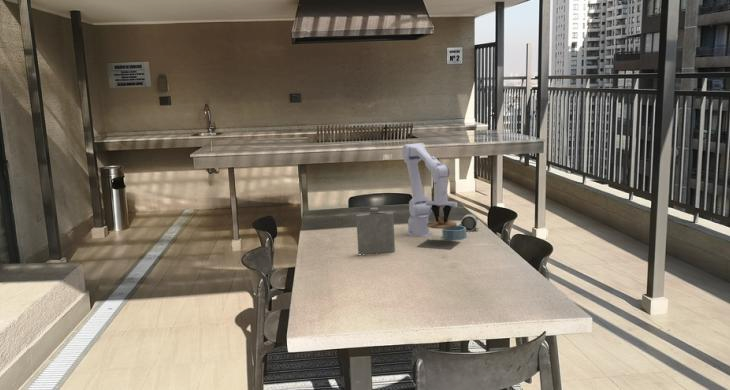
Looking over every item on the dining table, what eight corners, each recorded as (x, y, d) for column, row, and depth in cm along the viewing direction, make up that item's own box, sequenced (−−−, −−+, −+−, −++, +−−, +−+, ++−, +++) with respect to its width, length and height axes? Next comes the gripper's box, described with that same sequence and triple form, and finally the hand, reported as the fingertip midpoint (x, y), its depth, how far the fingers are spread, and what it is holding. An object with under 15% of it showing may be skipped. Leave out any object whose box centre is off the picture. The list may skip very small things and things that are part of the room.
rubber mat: (416, 247, 265) (416, 246, 265) (428, 240, 277) (427, 239, 277) (450, 250, 257) (450, 249, 257) (461, 242, 269) (461, 241, 269)
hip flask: (358, 255, 257) (356, 210, 254) (358, 253, 261) (355, 208, 258) (395, 253, 258) (393, 207, 255) (394, 250, 262) (392, 205, 259)
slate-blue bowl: (439, 239, 277) (438, 230, 276) (447, 234, 286) (447, 224, 286) (461, 241, 272) (461, 231, 271) (469, 235, 281) (469, 226, 280)
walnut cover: (422, 227, 266) (422, 218, 265) (433, 221, 277) (433, 213, 277) (450, 229, 260) (450, 220, 259) (460, 223, 271) (460, 214, 270)
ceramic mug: (477, 227, 296) (476, 212, 295) (477, 231, 288) (476, 215, 287) (455, 228, 299) (455, 213, 297) (454, 231, 291) (454, 216, 290)
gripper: (422, 193, 266) (423, 222, 268) (453, 194, 259) (454, 224, 261) (428, 190, 272) (429, 219, 274) (458, 191, 265) (459, 221, 268)
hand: (441, 222), depth 268 cm, fingers closed on walnut cover, 3 cm apart
